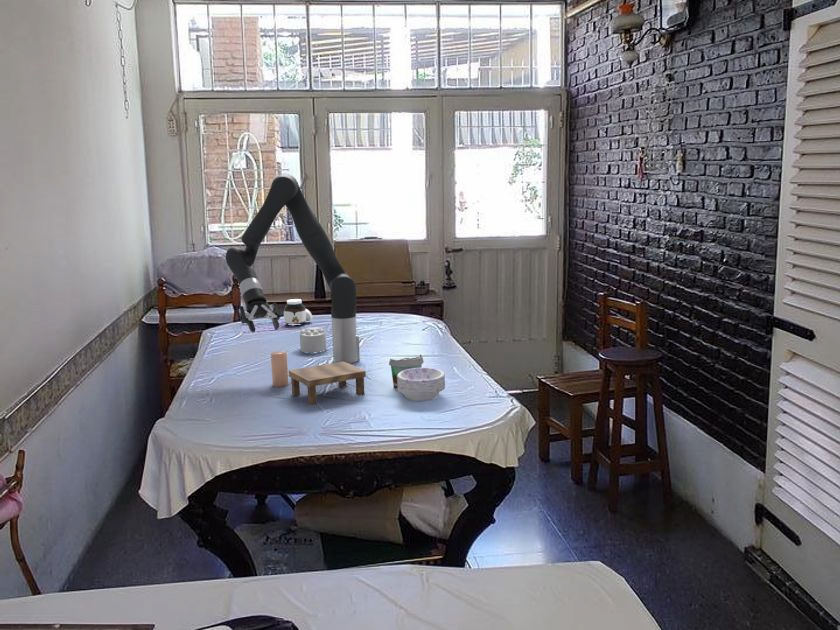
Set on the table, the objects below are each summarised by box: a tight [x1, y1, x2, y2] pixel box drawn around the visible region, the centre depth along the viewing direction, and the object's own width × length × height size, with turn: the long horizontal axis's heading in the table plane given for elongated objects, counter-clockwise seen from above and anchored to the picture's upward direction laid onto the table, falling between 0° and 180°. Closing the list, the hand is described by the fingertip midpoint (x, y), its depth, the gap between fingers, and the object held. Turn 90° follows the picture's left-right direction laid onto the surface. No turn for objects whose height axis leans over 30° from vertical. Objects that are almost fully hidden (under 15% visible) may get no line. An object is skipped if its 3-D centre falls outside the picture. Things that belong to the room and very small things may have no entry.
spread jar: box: [283, 298, 313, 325], centre depth 382 cm, size 12×11×12 cm
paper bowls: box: [397, 367, 446, 402], centre depth 259 cm, size 15×15×8 cm
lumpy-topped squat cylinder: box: [299, 326, 327, 354], centre depth 328 cm, size 10×13×9 cm
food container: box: [388, 354, 425, 390], centre depth 270 cm, size 12×6×10 cm, turn 117°
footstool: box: [288, 361, 367, 406], centre depth 264 cm, size 20×16×8 cm
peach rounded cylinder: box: [270, 351, 289, 388], centre depth 277 cm, size 5×5×11 cm
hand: (265, 329), depth 284 cm, fingers open, 8 cm apart
